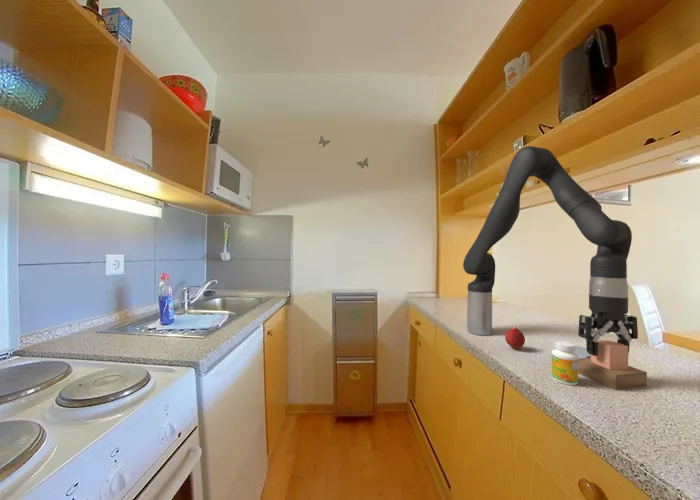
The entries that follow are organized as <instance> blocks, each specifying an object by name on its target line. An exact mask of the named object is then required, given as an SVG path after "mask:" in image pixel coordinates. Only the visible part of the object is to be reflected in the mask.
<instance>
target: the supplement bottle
mask: <svg viewBox="0 0 700 500" xmlns="http://www.w3.org/2000/svg"><path fill="white" fill-rule="evenodd" d="M554 348H555V349H553V350H552V351H551V378H552V379H553V380H554V381H555V382H558V383H560V384H564V385H566V386H576V385H578V383H579V374H578V356H577V354H576V353H574V352H573V351H574V350H575V344H574V343H571V342H568V341H563V340H555V342H554Z"/></svg>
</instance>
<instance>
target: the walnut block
mask: <svg viewBox="0 0 700 500" xmlns="http://www.w3.org/2000/svg"><path fill="white" fill-rule="evenodd" d="M578 375H581V376H583V377H585V378H587V379H589V380H591V381H594V382H596V383H598V384H600V385H603V386H605V387H608V388H610V389H612V390H615V391H619V390H627V389H636V388H644V387H647V386H648V385H647V384H648V376H647V375H648V372H647V371H645V370H641V369H639V368H636V367H633V366H631V365H628V370H609V369H607V368H604V367H602V366H600V365H598V364H595V363H593V362H591V357H590V358H579V359H578Z"/></svg>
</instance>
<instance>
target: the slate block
mask: <svg viewBox="0 0 700 500" xmlns="http://www.w3.org/2000/svg"><path fill="white" fill-rule="evenodd" d="M574 346H575V345H574ZM586 348H587V347H583V346H580V345H576V346H575V350H574V351H573V352H574V353H576V354H577V356H578V359H579V358H590V357H591V354H589V353H588V352H587V350H586Z"/></svg>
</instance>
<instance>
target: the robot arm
mask: <svg viewBox="0 0 700 500" xmlns="http://www.w3.org/2000/svg"><path fill="white" fill-rule="evenodd" d="M530 177H534V178H537V179H539V180H540V181H541V182H543V183H544V184H545V185H546V186H547V187H548V188H549V189H550V191H551V194H552V197H553V198H554V200H555V203H557V205H558V206H559V207H560V208H561V209H562V211H564V212H565V214H567V216H568V217H570V218H571V220H573V221H574V223H575V225H576V227H577V229H578V230H579V231H580V233H581V234H582V235H583V236H584V237H585V239H586V240H587V241H589V242H590V243H592V244H593V245H596V246H597V248H596V249H597V250H596V254H595V255H593V256H592V258H591V259H590V264H589V267H590V268H589V269H590V270H589V273H590V275H589V276H590V277H589V282H588V309H589V310H590V312H591V315H589V316H588V315H584V314H580V315H579V317H578V319H579V320H578V332H577V334H578V337H580V338H582V339H585V341H586V347H585V348H586V350H587V352H588V353H589V354H591V355H593V356H598V342H597V341H598V340H600V338H601V337H603V336H605V334H610V333H612V334H613V333H614V334H615V335H616V337H617V339H616V340H617V341H616V342H617V343H620V344H623V345H626V346H628V356H629V354H630V342H631V341H632V340H633V339H635V340H638V338H639V331H638V330H639V329H638V318H637V316H634V315H630V314H628V313H629V283H628V279H627V277H628V273H627V272H628V271H627V270H628V268H627V267H628V265H627V260H628V256H629V253H630V249H631V246H632V245H631V244H632V240H633V234H632V229H631V227H630V226H629V225H628V223H626V222H624V221H622V220H617V219H616V220H615V219H611V217H609V216H608V215H607V214H606V213H605V212H604V211H603V210H602V209H603V208H602V205H601V204H600V203H599V201H598V200H596V198H594V197H593V196H592V195H591V194H589V192H587V190H585V189H584V188H583V187H582V186H581V185H579V184H578V183H577V182H576V180H575V179H574V178H573V177H571V176H570V174H569V173H568V172H567V171H566V170H565V168H564V167H563V166H562V164H561V163H560V162H559V161H558V159H557V157H556V156H555V155H554V153H553V152H552V151H551V150H549V149H548V148H544V147H538V146H533V145H527V146H523V147H522V148H520V149H519V150H518V151H517V152H516V153H515V155H514V156H513V158H512V160H511V162H510V165H509V167H508V170H507V172H506V176H505V178H504V180H503V184H502V185H501V188H500V191H499V192H498V195H497V197H496V199H495V201H494V203H493V205H492V207H491V209H490V211H489V213H488V215H487V217H486V219H485V221H484V224H483V225H482V226H481V227H482V228H481V229H480V232H479V233H478V235H477V237H476V238H475V240H474V241H473V243H472V245H471V247H470V249H469V250H468V252H466V254H465V257H464V259H463V263H462V267H463V271H464V272H465V273H466V274H468V275H472V276H476V277H475V278H474V279H473V280H472V281H471V282H469V283H468V284H467V308H466V330H467V332H468V333H470V334H473V335H476V336H477V335H478V336H491V335H492V334H493V287H494V285H495V283H496V282H495V280H496V260H495V258H494V257H493V255H492V254H490V253H488V252H489V251H490V250H491V248H492V247H493V246H495V244H497V243H498V242H500V240H502V239H504V237H506V235H508V233H509V232H510V231H511V230H512V228H513V226H514V224H515V223H516V221H517V219H518V217H519V214H520V209H521V195H522V191H523V188H524V187H525V185H526V183H527V181H528V179H529V178H530ZM630 330H631V331H630Z"/></svg>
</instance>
